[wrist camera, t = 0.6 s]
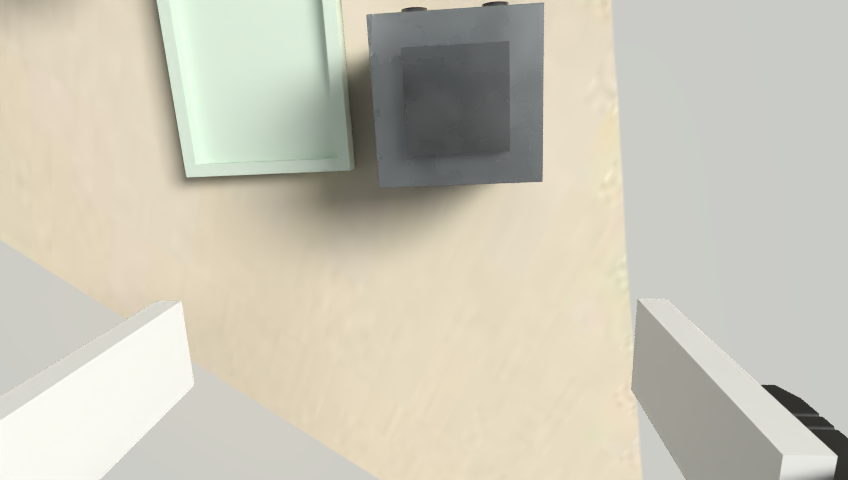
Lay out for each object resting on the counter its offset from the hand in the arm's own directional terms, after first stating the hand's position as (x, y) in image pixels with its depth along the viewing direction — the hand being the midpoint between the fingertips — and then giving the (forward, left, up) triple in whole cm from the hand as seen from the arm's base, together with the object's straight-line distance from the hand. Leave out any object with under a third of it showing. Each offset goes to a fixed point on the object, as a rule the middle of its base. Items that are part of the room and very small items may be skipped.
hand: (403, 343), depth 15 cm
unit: (-7, +2, -30) cm, 31 cm away
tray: (-10, -14, -30) cm, 35 cm away
